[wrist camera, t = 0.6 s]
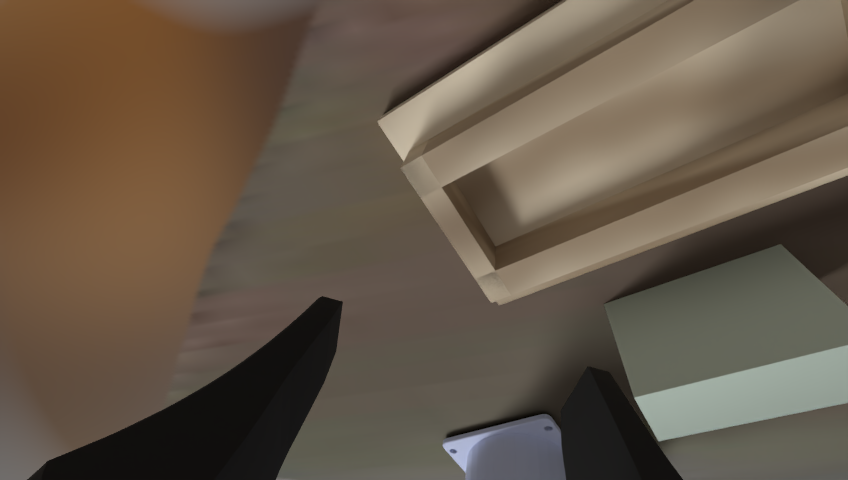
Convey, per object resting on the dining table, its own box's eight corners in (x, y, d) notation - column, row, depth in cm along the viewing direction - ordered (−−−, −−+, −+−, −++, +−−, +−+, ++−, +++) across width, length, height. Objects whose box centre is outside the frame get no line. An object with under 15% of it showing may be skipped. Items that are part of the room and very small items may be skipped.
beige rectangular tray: (899, 139, 16) (974, 168, 14) (499, 293, 23) (499, 332, 20) (853, -187, 12) (945, -231, 10) (382, 115, 19) (364, 136, 16)
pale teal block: (794, 290, 20) (892, 393, 15) (623, 341, 23) (658, 441, 18) (779, 243, 19) (880, 336, 14) (603, 303, 22) (633, 397, 17)
